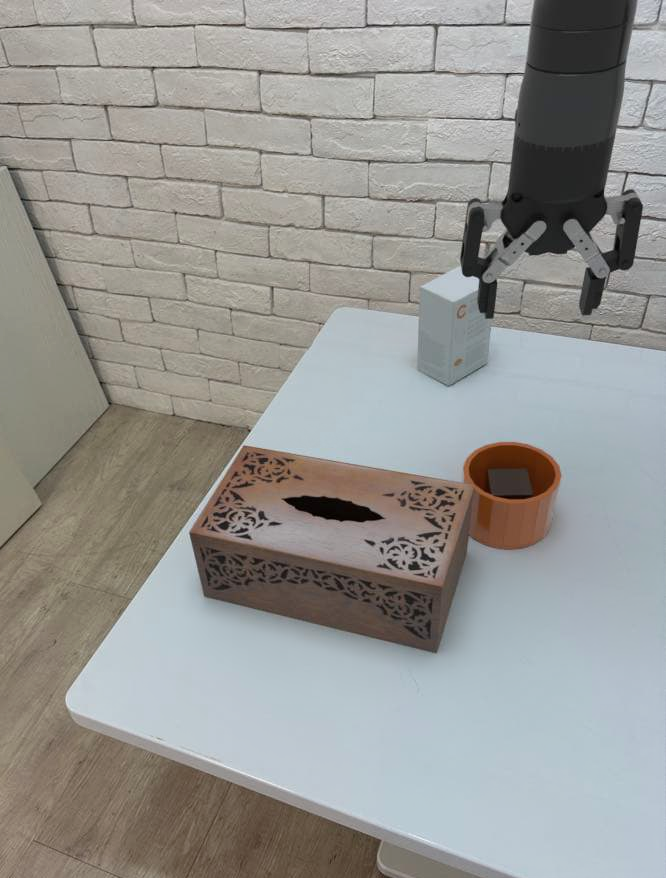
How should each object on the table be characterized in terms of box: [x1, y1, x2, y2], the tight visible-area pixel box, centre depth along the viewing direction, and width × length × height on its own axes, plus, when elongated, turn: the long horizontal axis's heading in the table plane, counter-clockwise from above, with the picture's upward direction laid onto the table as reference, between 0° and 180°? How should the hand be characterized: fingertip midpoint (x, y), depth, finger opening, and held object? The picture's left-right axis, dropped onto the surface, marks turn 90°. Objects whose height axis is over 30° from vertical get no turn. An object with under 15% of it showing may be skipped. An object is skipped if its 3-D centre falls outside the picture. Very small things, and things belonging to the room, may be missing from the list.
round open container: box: [461, 441, 563, 550], centre depth 89 cm, size 10×10×7 cm
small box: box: [416, 264, 493, 387], centre depth 109 cm, size 8×6×13 cm
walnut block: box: [484, 468, 533, 499], centre depth 90 cm, size 4×4×5 cm
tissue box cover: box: [188, 444, 475, 654], centre depth 85 cm, size 26×14×10 cm, turn 68°
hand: (536, 312), depth 74 cm, fingers open, 8 cm apart
